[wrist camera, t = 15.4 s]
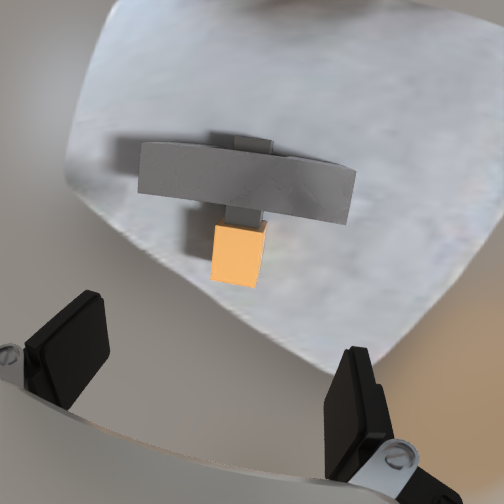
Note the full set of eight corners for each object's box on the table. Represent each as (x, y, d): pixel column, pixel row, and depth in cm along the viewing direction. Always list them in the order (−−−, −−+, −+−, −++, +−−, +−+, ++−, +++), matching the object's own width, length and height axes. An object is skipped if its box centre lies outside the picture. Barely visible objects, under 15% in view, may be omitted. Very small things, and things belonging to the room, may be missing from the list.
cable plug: (235, 135, 27) (226, 134, 24) (279, 141, 27) (277, 141, 23) (220, 263, 32) (210, 279, 28) (259, 270, 31) (254, 287, 28)
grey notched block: (172, 141, 28) (141, 142, 22) (342, 165, 27) (356, 171, 21) (168, 182, 30) (137, 192, 24) (335, 208, 28) (345, 225, 22)
